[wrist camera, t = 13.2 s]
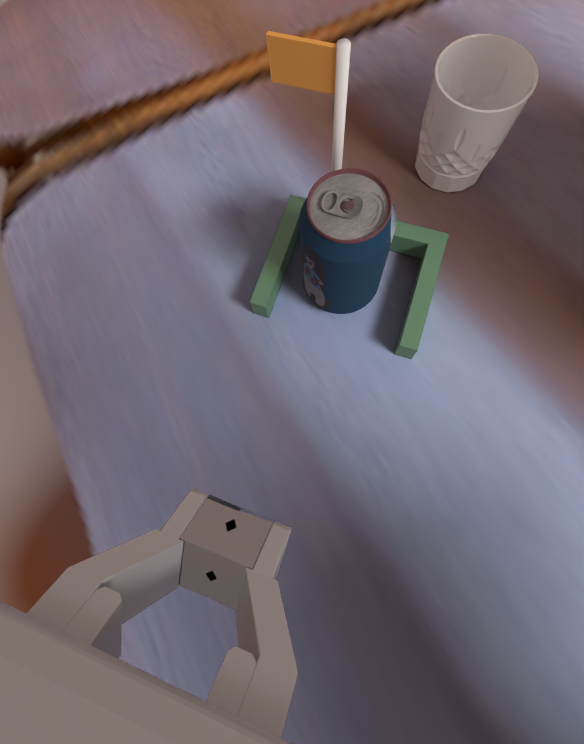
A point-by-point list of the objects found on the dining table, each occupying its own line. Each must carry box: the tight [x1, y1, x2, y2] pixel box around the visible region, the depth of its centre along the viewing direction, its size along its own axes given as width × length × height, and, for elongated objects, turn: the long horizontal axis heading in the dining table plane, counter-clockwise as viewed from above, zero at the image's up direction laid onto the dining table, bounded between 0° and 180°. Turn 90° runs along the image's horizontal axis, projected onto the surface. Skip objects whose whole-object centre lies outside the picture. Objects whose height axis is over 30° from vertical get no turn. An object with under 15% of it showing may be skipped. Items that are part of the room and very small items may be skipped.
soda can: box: [299, 168, 396, 314], centre depth 34 cm, size 7×7×12 cm
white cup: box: [415, 33, 539, 192], centre depth 38 cm, size 8×8×10 cm
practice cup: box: [250, 31, 449, 359], centre depth 31 cm, size 15×12×18 cm
